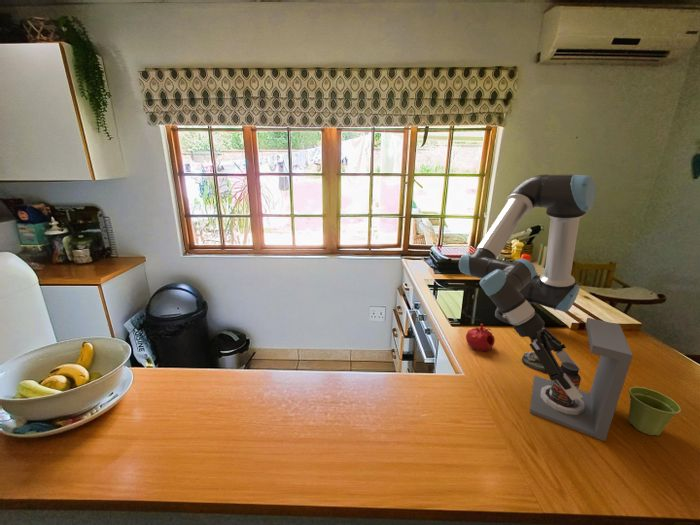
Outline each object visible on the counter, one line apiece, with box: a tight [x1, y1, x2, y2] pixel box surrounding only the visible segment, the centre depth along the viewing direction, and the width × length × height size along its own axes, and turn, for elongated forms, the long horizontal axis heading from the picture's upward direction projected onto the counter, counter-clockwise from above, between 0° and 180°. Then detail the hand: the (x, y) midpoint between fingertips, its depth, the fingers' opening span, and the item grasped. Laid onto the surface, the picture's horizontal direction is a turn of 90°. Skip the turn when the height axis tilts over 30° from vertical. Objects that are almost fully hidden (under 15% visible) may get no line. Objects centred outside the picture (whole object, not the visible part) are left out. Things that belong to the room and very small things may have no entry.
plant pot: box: [628, 386, 682, 437], centre depth 77 cm, size 9×9×9 cm
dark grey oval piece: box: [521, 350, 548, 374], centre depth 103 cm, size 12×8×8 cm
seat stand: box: [529, 317, 633, 442], centre depth 81 cm, size 18×16×24 cm
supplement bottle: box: [549, 362, 582, 407], centre depth 83 cm, size 6×6×11 cm
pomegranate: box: [465, 323, 496, 352], centre depth 112 cm, size 10×10×9 cm
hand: (576, 383), depth 82 cm, fingers open, 13 cm apart
